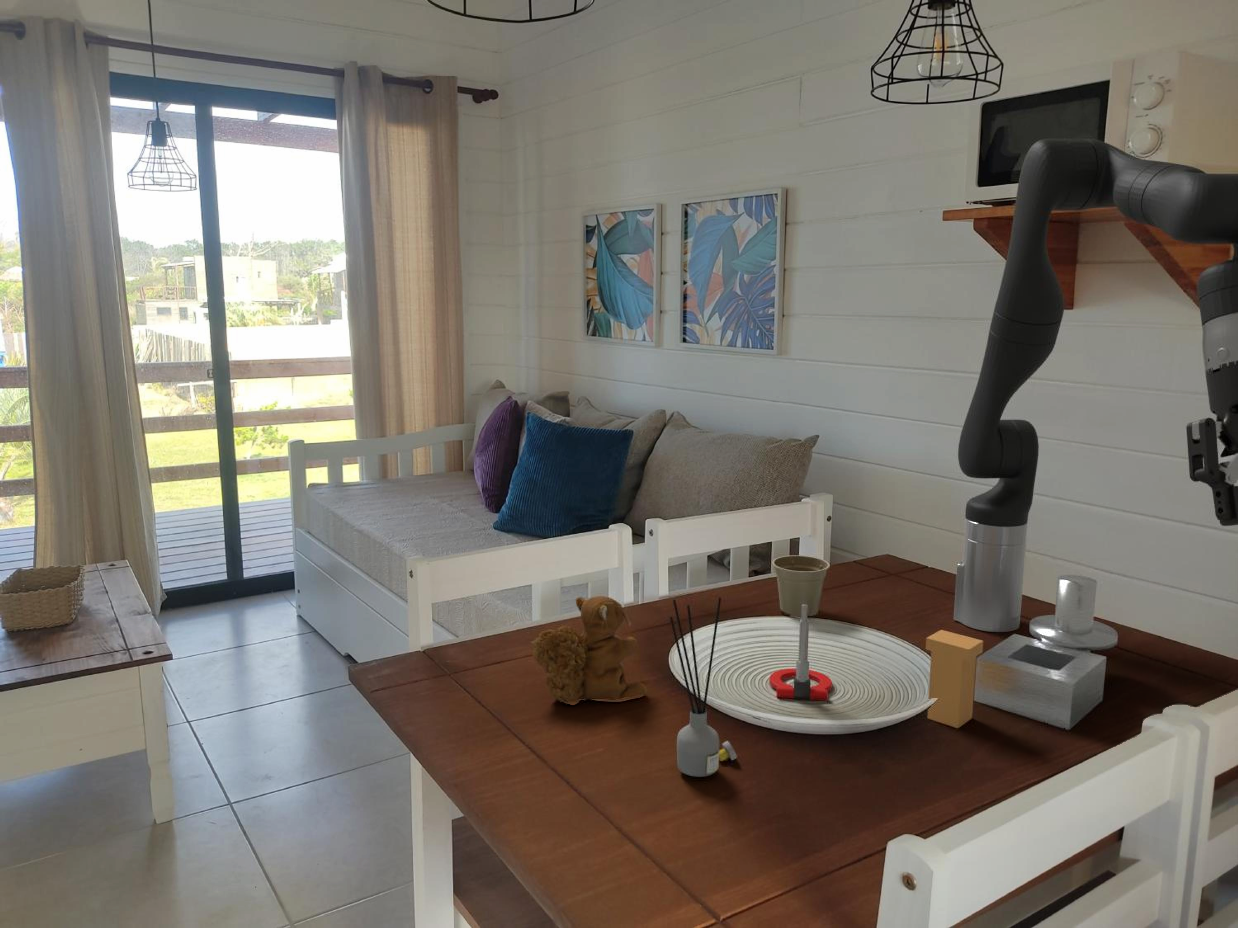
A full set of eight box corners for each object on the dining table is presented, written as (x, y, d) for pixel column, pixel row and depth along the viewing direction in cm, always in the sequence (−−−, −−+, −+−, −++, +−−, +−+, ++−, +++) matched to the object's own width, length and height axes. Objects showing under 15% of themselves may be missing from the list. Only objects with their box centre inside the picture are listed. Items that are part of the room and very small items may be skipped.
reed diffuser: (687, 795, 100) (689, 618, 96) (642, 772, 105) (642, 602, 101) (747, 762, 107) (751, 595, 103) (701, 742, 112) (703, 582, 108)
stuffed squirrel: (652, 696, 124) (652, 602, 122) (558, 721, 117) (556, 621, 115) (614, 670, 133) (614, 582, 130) (525, 692, 126) (522, 599, 123)
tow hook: (769, 674, 132) (769, 699, 123) (771, 586, 131) (772, 604, 122) (829, 678, 131) (834, 703, 122) (833, 589, 129) (838, 608, 120)
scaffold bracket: (973, 700, 122) (980, 598, 120) (1040, 653, 138) (1047, 562, 136) (1069, 730, 114) (1078, 621, 112) (1128, 676, 130) (1137, 580, 127)
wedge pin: (921, 716, 118) (926, 637, 116) (936, 706, 121) (941, 629, 119) (963, 730, 114) (969, 649, 112) (977, 719, 117) (983, 640, 115)
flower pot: (833, 622, 152) (835, 571, 150) (775, 622, 152) (776, 571, 150) (821, 603, 161) (823, 555, 159) (767, 603, 161) (768, 555, 160)
